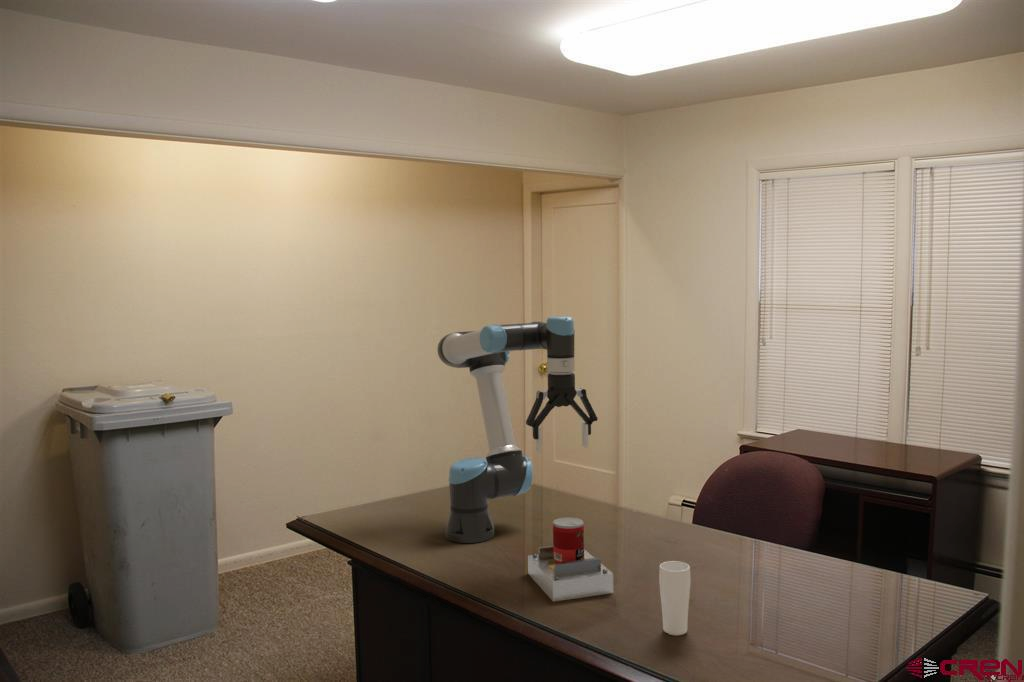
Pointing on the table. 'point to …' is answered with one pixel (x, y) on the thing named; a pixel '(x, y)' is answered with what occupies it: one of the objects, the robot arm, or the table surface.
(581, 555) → the canned food
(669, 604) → the drinking glass
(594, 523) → the table surface
